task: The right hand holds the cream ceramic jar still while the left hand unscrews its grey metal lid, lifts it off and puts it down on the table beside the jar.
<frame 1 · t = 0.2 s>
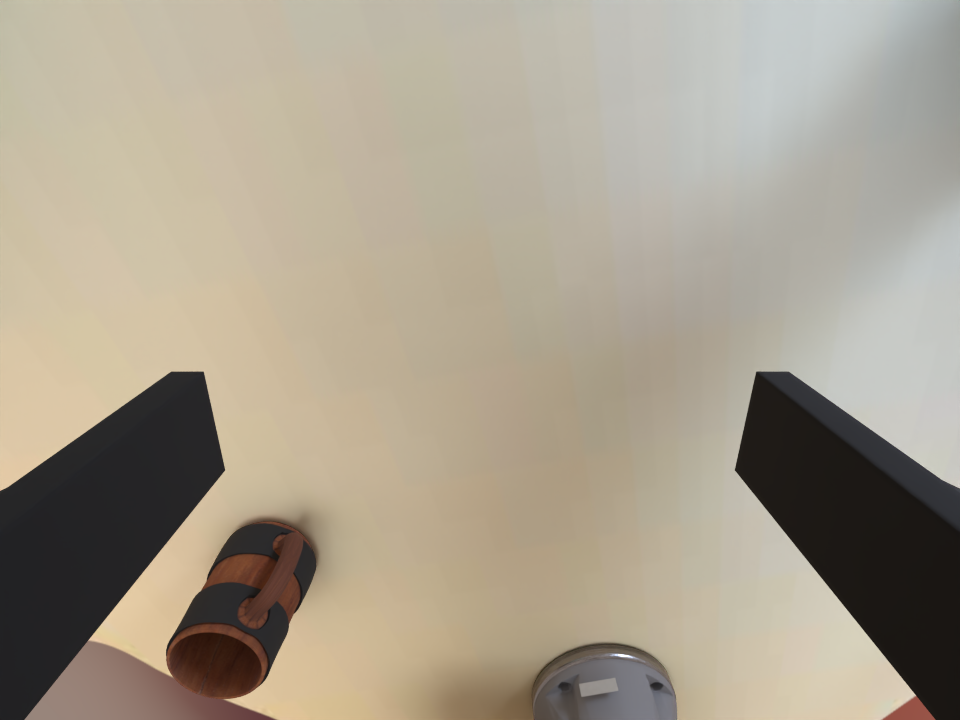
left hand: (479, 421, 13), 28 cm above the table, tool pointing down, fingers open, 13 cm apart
mug: (284, 540, 49), on the table
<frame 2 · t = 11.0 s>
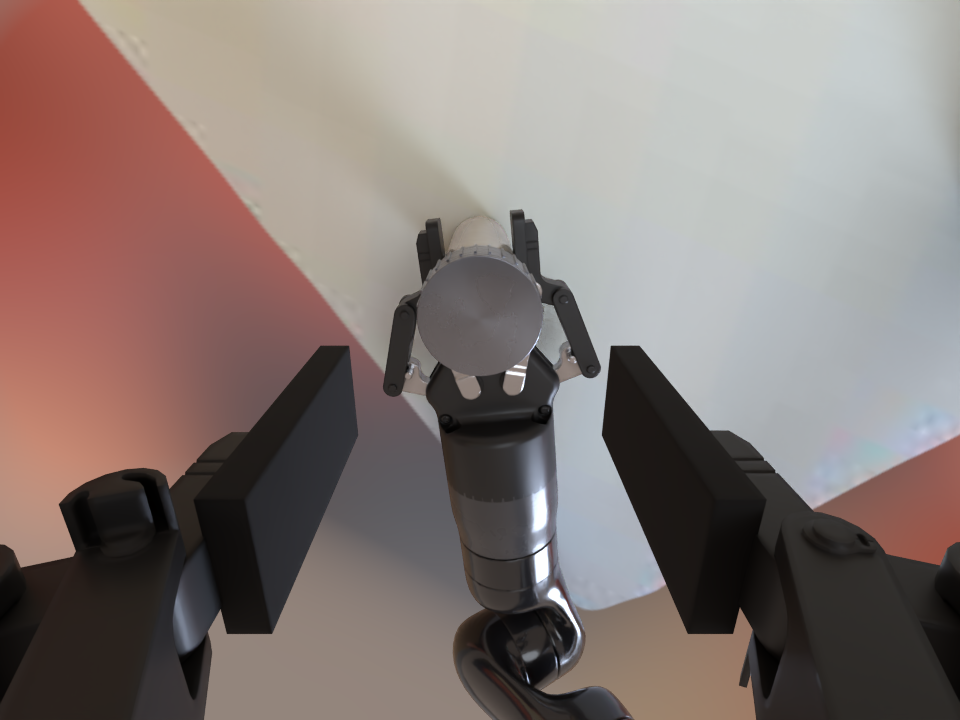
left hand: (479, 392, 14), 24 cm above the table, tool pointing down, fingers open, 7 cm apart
right hand: (474, 217, 29), fingers closed on jar, 4 cm apart
jar: (479, 246, 36), on the table, touching right hand
lid: (479, 316, 21), point 17 cm above the table, screwed on, not yet turned
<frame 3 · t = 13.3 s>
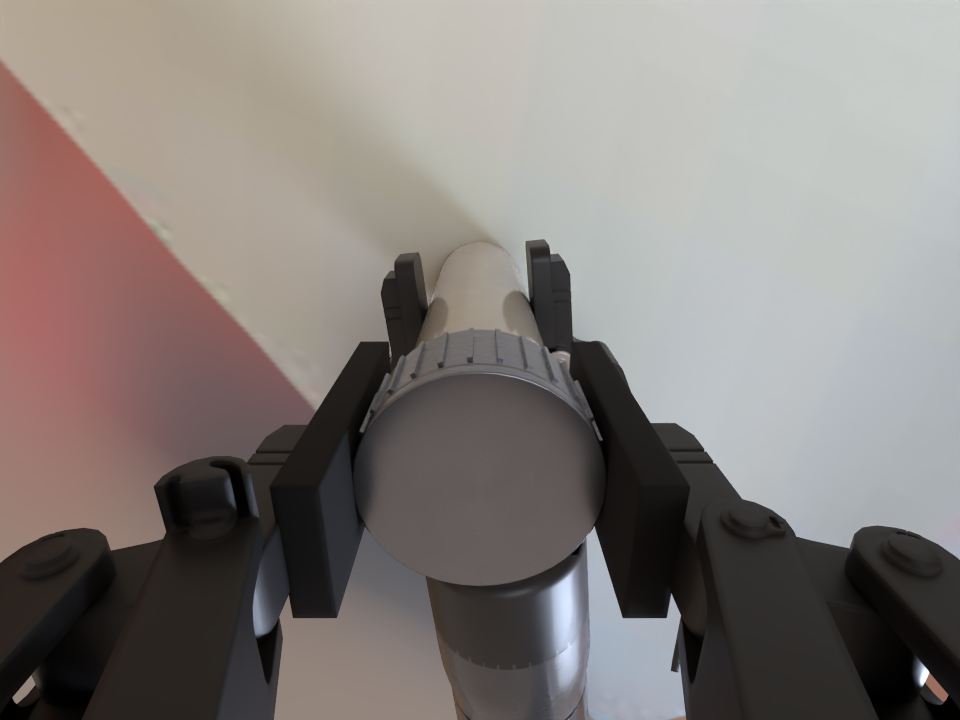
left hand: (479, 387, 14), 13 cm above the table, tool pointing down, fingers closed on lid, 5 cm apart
jar: (479, 282, 26), on the table, touching right hand
lid: (479, 478, 10), point 17 cm above the table, screwed on, not yet turned, touching left hand
when the left hand's fingers open (0 cm above the table, at t = 35.2 s): lid drops 2 cm, point 2 cm above the table.
when the right hand's fingers open (7 cm above the table, at t = 36.4 s): jar stays where it is, on the table.
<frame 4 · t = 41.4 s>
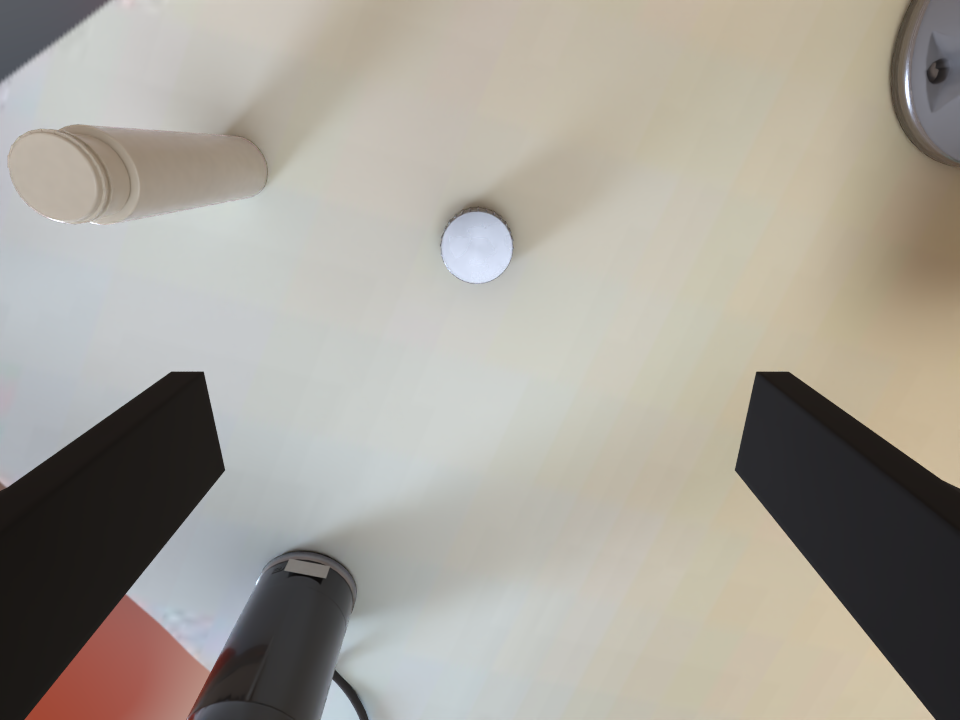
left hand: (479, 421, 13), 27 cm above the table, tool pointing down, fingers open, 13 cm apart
jar: (238, 167, 36), on the table
lid: (476, 247, 36), point 2 cm above the table, off its thread
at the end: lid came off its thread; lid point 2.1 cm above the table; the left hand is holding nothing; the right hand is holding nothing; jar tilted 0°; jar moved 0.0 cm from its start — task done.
